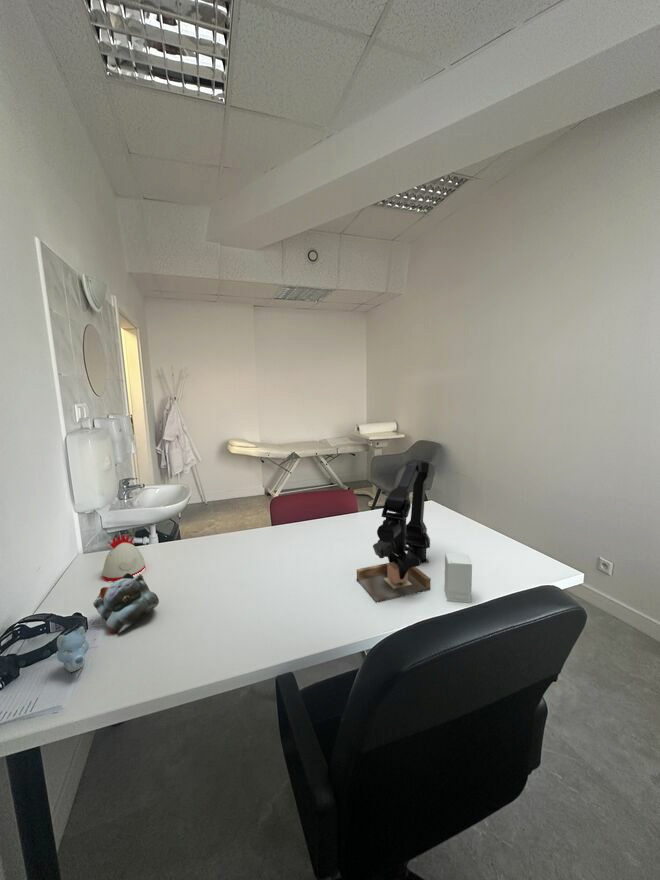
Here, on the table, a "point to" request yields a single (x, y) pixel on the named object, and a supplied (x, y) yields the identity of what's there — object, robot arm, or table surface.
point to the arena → (391, 583)
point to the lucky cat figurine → (125, 602)
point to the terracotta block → (395, 573)
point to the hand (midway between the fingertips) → (397, 575)
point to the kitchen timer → (122, 560)
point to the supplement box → (458, 577)
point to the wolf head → (72, 649)
